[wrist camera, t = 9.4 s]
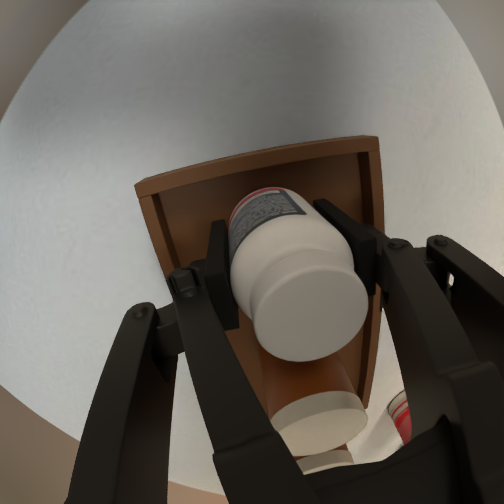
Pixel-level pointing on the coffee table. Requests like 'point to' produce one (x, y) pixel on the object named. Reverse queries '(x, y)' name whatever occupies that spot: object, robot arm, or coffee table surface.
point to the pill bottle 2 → (401, 416)
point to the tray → (254, 178)
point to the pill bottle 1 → (293, 276)
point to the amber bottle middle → (311, 402)
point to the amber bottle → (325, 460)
